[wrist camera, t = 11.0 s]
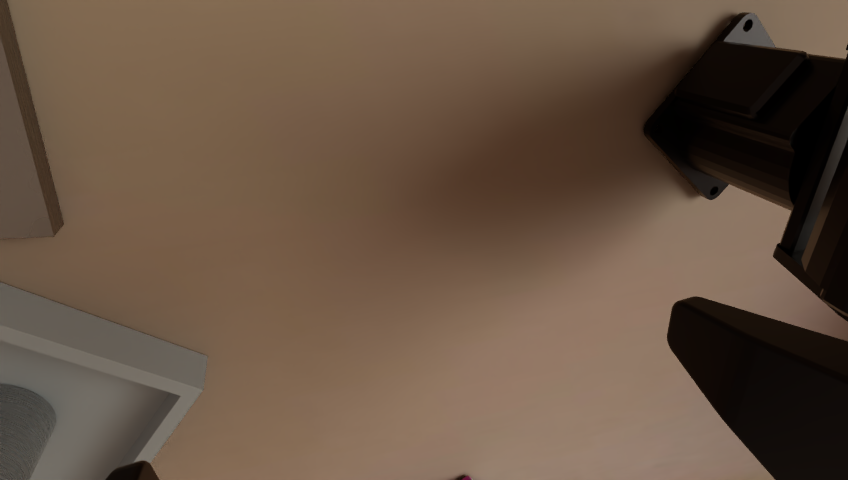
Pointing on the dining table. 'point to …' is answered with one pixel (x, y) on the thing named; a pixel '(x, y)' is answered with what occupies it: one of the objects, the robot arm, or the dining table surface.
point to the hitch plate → (22, 150)
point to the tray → (95, 384)
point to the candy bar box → (467, 478)
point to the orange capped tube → (23, 431)
